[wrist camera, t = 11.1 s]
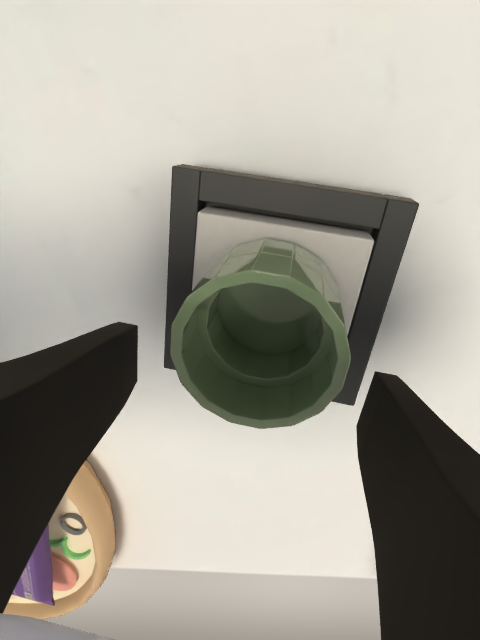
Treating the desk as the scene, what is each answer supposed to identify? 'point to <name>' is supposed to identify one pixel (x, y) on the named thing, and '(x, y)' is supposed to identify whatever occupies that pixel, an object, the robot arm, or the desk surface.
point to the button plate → (320, 240)
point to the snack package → (38, 574)
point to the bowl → (263, 336)
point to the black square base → (303, 205)
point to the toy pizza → (75, 548)
